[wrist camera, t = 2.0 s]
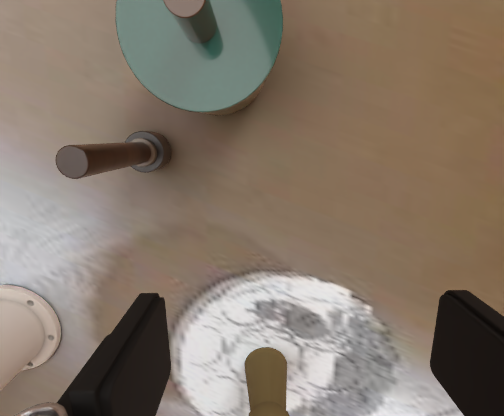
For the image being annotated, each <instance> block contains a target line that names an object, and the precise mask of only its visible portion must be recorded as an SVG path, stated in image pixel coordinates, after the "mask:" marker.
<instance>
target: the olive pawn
mask: <svg viewBox="0 0 504 416" xmlns="http://www.w3.org/2000/svg"><path fill="white" fill-rule="evenodd" d="M245 373H246V380H247V388H248V396H249V403H250V411H251V412H250V413H249V416H289V414H288V412H287V411H286V382H287V362H286V359H285V357H284V356H283V354H282V353H281V352H279V351H278V350H276V349H273V348H269V347H268V348H259V349H256V350H254V351H253V352H251V353H250V354H249V355H248V357H247V358H246V361H245Z"/></svg>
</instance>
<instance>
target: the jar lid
mask: <svg viewBox="0 0 504 416" xmlns="http://www.w3.org/2000/svg"><path fill="white" fill-rule="evenodd" d="M116 27H117V34H118V39H119V43H120V46H121V49H122V52H123V55H124V57H125V59H126V61H127V63H128V65H129V67H130V69H131V70H132V72H133V73H134V75H135V76H136V77H137V79H138V80H139V81H140V82H141V84H142V85H143V86H144V87H145V88H146V89H147V90H148V91H149V92H151V93H152V94H153V95H155V96H156V97H157V98H159V99H160V100H162V101H164V102H165V103H167V104H169V105H171V106H174V107H176V108H179V109H182V110H186V111H190V112H198V113H210V112H216V111H221V110H225V109H228V108H231V107H233V106H235V105H237V104H239V103H241V102H242V101H244V100H245V99H247V98H248V97H249V96H251V95H252V94H253V93H254V92H255V91H256V90H257V89H258V88H259V87H260V86H261V85H262V84H263V82H264V81H265V79H266V78H267V77H268V75H269V73H270V71H271V69H272V68H273V66H274V63H275V61H276V58H277V55H278V52H279V48H280V44H281V39H282V31H283V14H282V5H281V0H117V2H116Z"/></svg>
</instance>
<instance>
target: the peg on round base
mask: <svg viewBox="0 0 504 416" xmlns="http://www.w3.org/2000/svg"><path fill="white" fill-rule="evenodd" d="M170 157H171V148H170V145H169V142H168V141H167V139H166V138H165V137H164V136H162V135H161V134H159V133H156V132H147V131H139V132H135V133H133V134H132V135H130V136H129V137H128V138H127V140H126V141H125V143H107V144H86V145H68V146H64V147H62V148H61V149H60V150H59V151H58V153H57V155H56V165H57V167H58V169H59V171H60V172H61V173H62V174H63V175H65V176H66V177H68V178H72V179H79V178H83V177H87V176H91V175H95V174H99V173H104V172H108V171H112V170H116V169H120V168H124V167H129V166H131V167H132V168H133V169H135V170H137V171H140V172H151V171H154V170H157V169H160V168H162V167H164V166H165V165H166V164H167V163H168V161H169V160H170Z"/></svg>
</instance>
